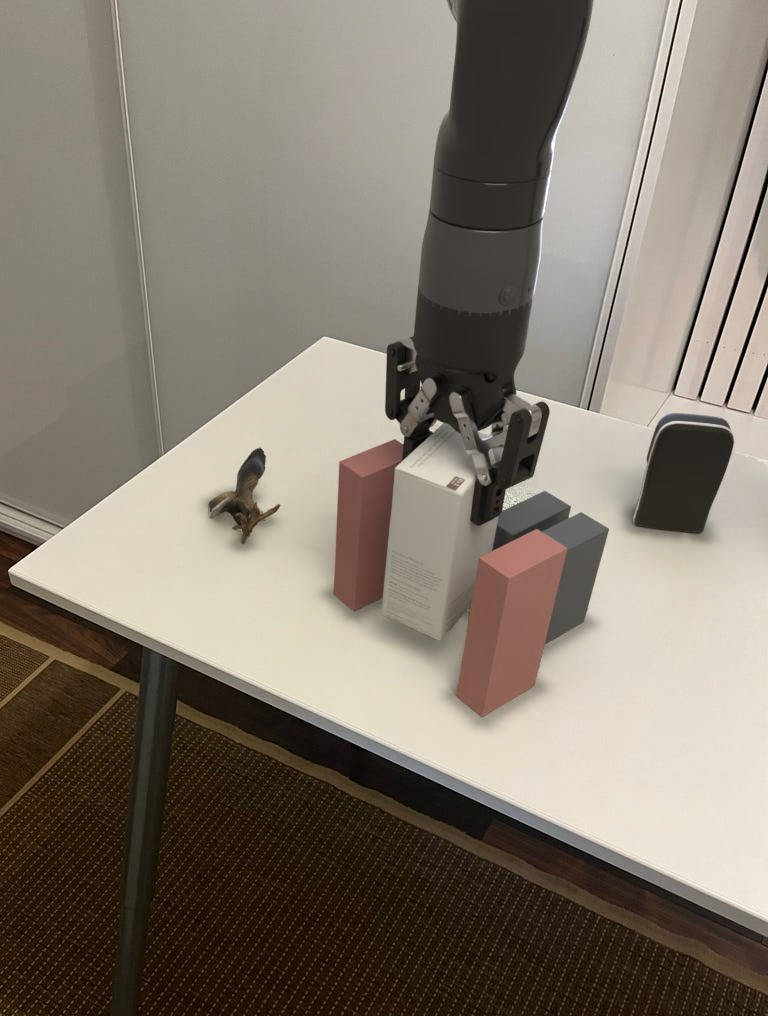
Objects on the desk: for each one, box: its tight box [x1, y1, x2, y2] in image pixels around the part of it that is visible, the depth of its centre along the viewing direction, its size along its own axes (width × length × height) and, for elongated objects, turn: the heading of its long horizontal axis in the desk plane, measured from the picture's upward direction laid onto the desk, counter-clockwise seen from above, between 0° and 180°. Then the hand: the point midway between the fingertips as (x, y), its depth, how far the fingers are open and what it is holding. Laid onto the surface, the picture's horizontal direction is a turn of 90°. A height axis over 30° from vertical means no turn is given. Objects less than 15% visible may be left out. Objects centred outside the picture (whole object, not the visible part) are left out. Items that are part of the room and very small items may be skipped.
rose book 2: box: [455, 529, 567, 718], centre depth 74 cm, size 6×3×14 cm, turn 126°
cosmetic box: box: [380, 422, 498, 641], centre depth 77 cm, size 8×6×15 cm
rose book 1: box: [333, 438, 404, 612], centre depth 84 cm, size 6×3×14 cm, turn 126°
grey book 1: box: [492, 490, 572, 551], centre depth 84 cm, size 7×3×10 cm, turn 126°
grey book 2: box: [542, 511, 610, 645], centre depth 81 cm, size 7×3×10 cm, turn 126°
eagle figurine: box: [208, 446, 281, 545], centre depth 95 cm, size 8×7×9 cm
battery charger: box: [632, 412, 735, 534], centre depth 93 cm, size 7×4×11 cm, turn 78°
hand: (448, 497), depth 74 cm, fingers closed on cosmetic box, 7 cm apart
